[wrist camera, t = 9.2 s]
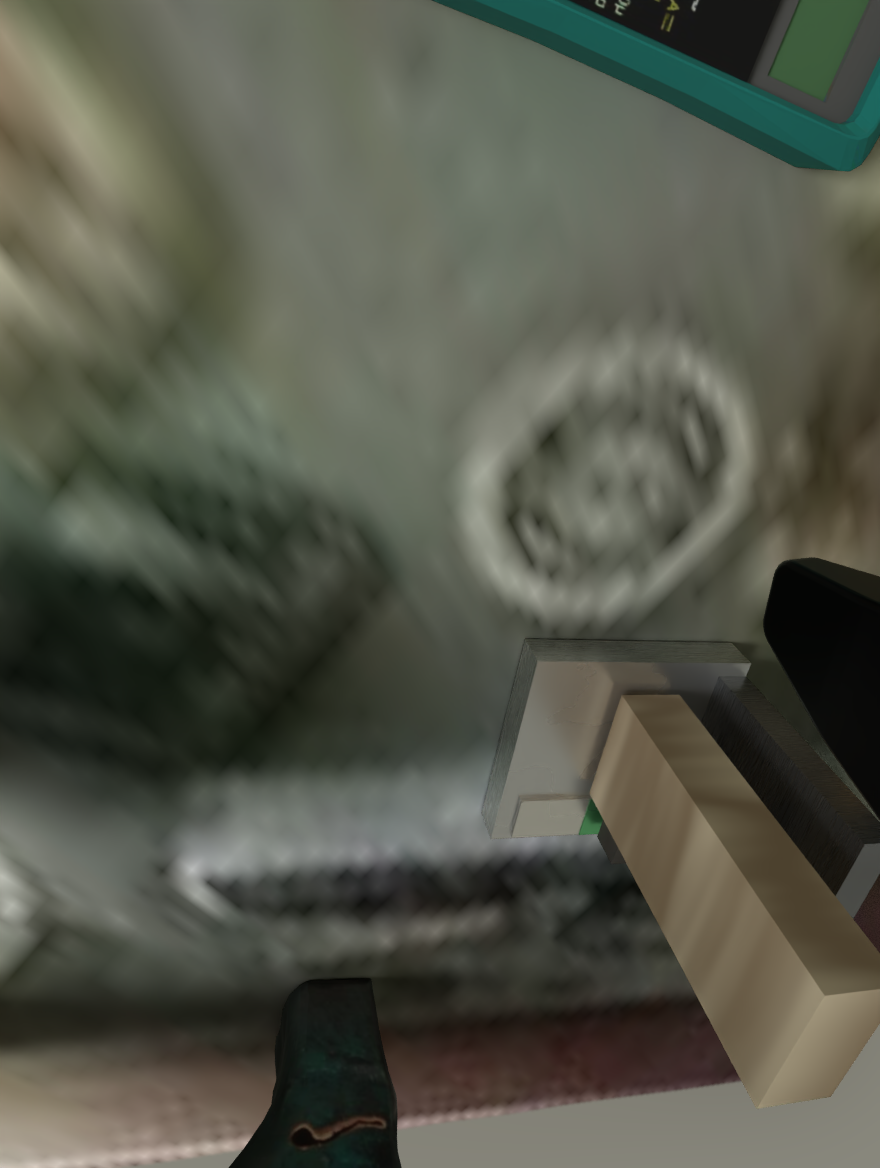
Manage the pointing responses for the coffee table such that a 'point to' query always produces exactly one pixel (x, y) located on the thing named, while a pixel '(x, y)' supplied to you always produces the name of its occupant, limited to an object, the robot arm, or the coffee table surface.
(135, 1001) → the coffee table surface
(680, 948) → the light brown wooden block
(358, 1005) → the green animal figurine
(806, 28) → the digital multimeter
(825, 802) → the gauge base
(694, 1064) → the coffee table surface
